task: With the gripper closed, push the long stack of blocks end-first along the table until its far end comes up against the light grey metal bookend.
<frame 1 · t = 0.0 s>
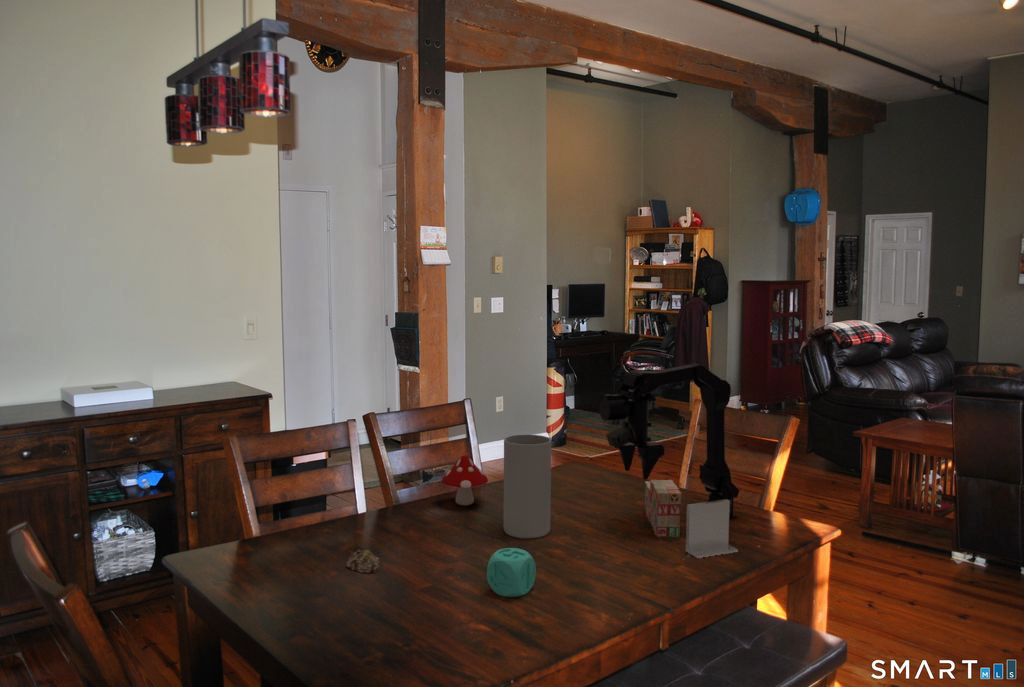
hand: (636, 474, 206), 15 cm above the table, tool pointing down, fingers open, 9 cm apart
decorative mushroom: (464, 505, 227), on the table
cylinder vase: (526, 532, 204), on the table
mineral rock: (364, 568, 180), on the table
decorative dice: (511, 590, 167), on the table
bookend: (711, 551, 190), on the table
stack of blocks: (661, 525, 211), on the table
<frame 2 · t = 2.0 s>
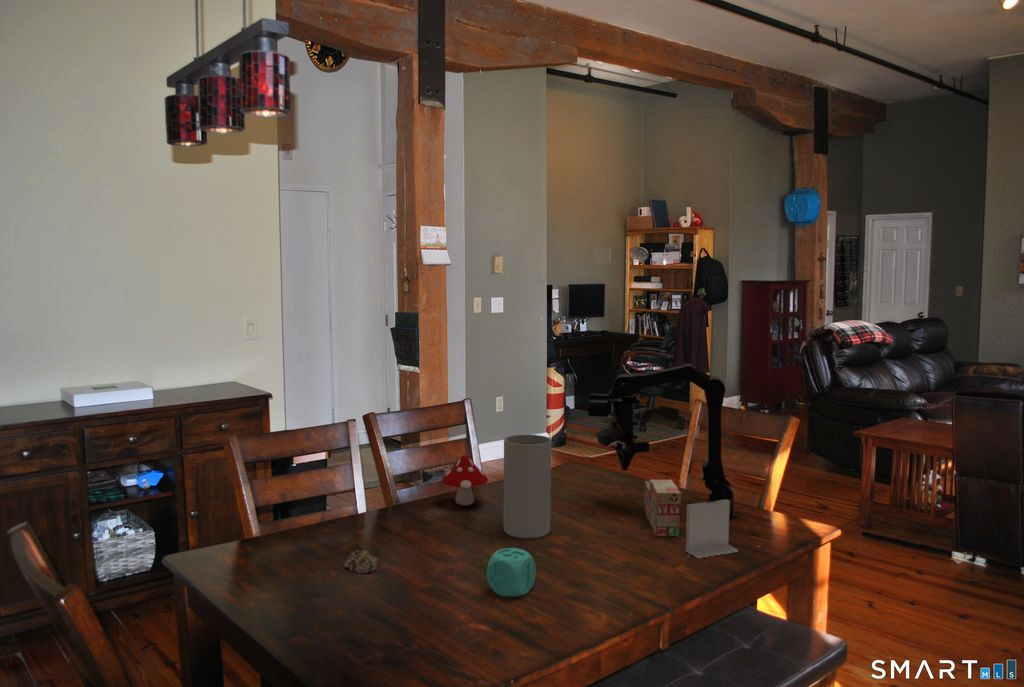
hand: (624, 470, 223), 11 cm above the table, tool pointing down, fingers closed
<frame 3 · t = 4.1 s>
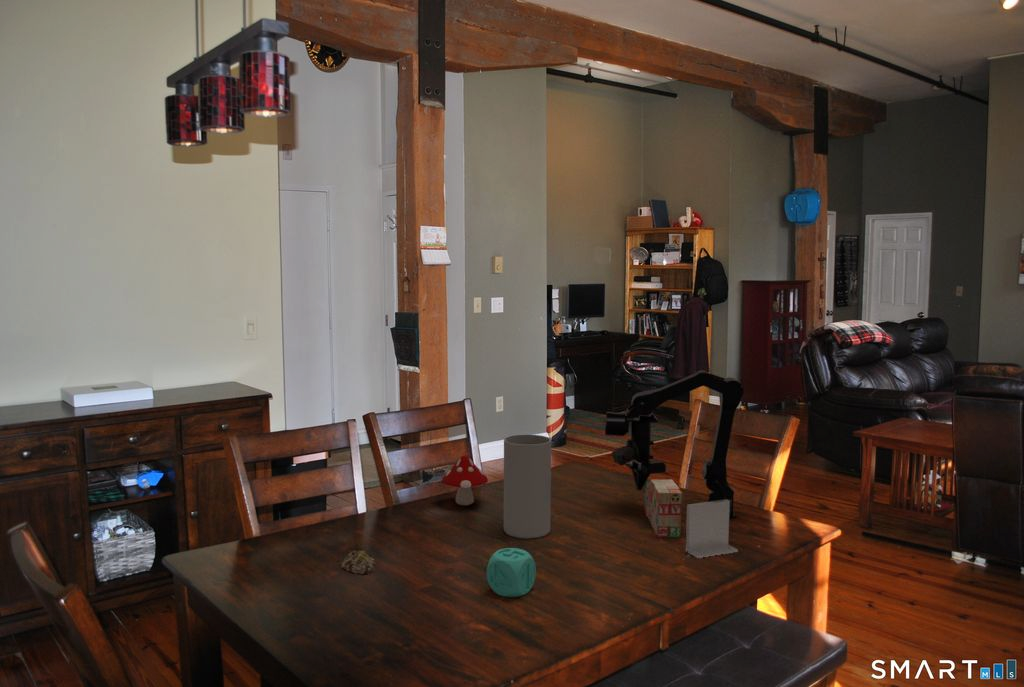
hand: (639, 489, 221), 7 cm above the table, tool pointing down, fingers closed
stack of blocks: (661, 524, 211), on the table, touching gripper
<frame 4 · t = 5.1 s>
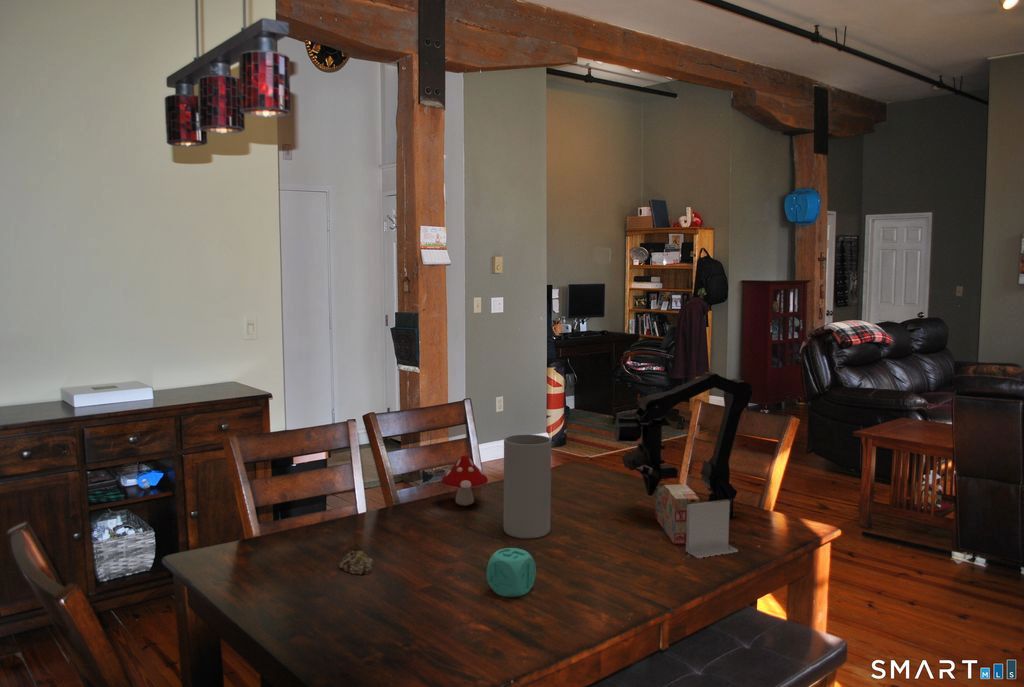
hand: (650, 495, 216), 7 cm above the table, tool pointing down, fingers closed
stack of blocks: (675, 531, 206), on the table, touching gripper
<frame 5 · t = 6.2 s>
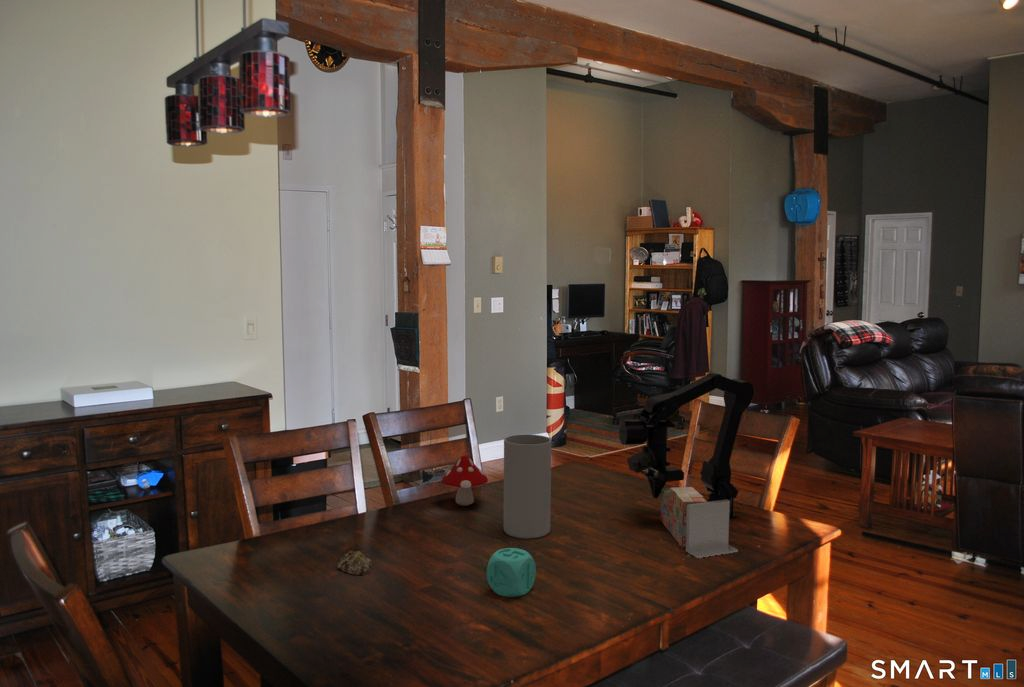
hand: (655, 497, 213), 6 cm above the table, tool pointing down, fingers closed
stack of blocks: (681, 534, 203), on the table, touching gripper
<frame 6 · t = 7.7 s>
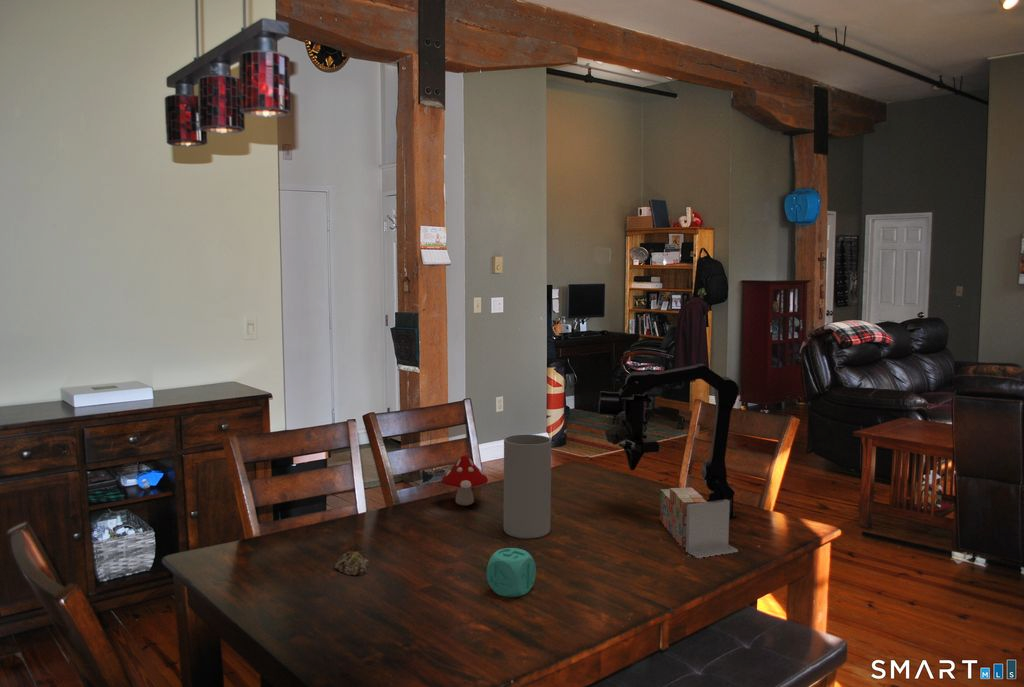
hand: (632, 469, 220), 13 cm above the table, tool pointing down, fingers closed
stack of blocks: (681, 534, 203), on the table
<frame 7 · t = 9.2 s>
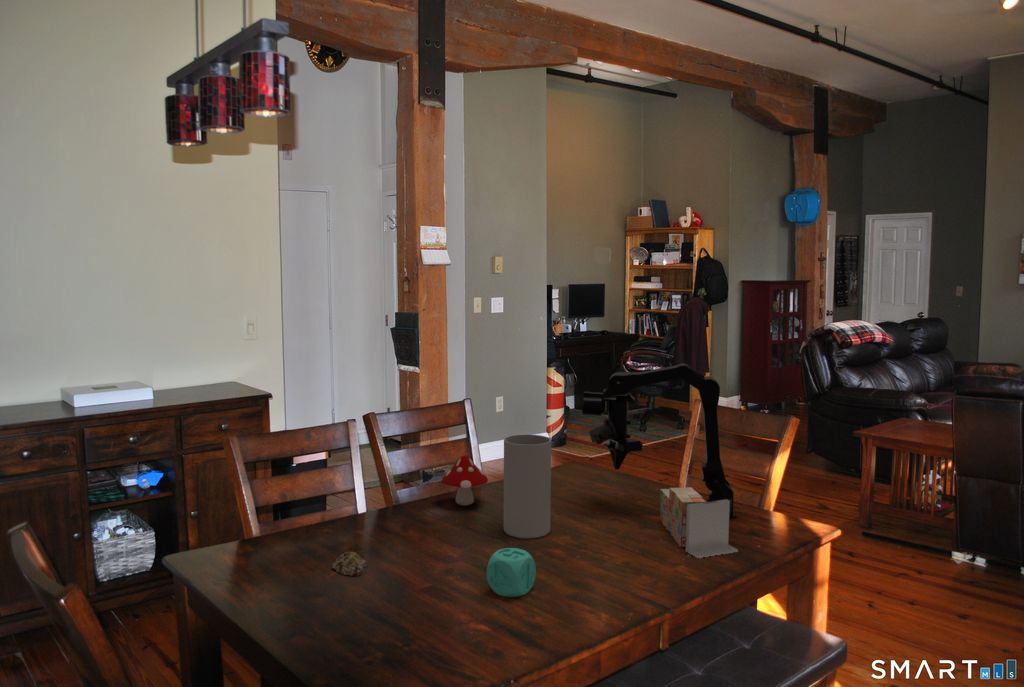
hand: (616, 469, 223), 12 cm above the table, tool pointing down, fingers closed
at the end: stack of blocks inside the target area (0.7 cm from its centre), on the table; stack of blocks tilted 0°; stack of blocks moved 8.4 cm from its start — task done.
